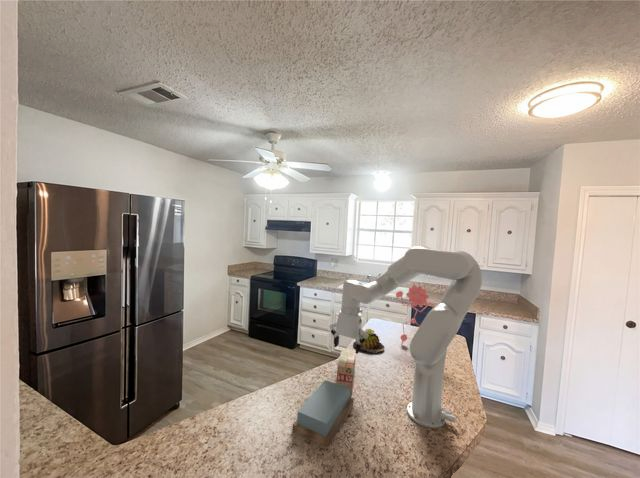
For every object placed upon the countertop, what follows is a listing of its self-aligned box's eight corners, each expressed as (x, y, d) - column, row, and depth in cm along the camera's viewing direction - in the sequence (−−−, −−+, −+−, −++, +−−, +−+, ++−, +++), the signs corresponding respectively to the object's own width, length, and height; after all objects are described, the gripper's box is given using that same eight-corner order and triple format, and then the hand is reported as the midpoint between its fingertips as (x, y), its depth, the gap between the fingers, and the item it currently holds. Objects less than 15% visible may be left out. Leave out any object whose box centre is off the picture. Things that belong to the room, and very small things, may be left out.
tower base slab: (352, 409, 97) (353, 398, 97) (326, 453, 77) (327, 440, 77) (323, 398, 102) (324, 388, 102) (292, 436, 83) (292, 424, 83)
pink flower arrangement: (431, 358, 138) (436, 291, 137) (387, 341, 157) (391, 282, 155) (442, 349, 149) (447, 288, 147) (400, 334, 167) (404, 279, 166)
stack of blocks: (341, 367, 124) (343, 341, 124) (355, 369, 123) (356, 343, 123) (335, 395, 103) (337, 364, 103) (351, 398, 102) (353, 367, 102)
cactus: (351, 350, 143) (352, 332, 142) (355, 338, 158) (356, 322, 158) (383, 356, 138) (385, 337, 138) (385, 343, 154) (386, 327, 153)
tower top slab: (349, 399, 96) (349, 388, 96) (325, 436, 78) (326, 423, 78) (324, 390, 101) (325, 379, 101) (297, 423, 83) (297, 411, 83)
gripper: (372, 311, 111) (369, 351, 112) (334, 303, 119) (331, 340, 120) (367, 316, 104) (363, 358, 105) (327, 307, 112) (324, 346, 113)
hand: (346, 349), depth 113 cm, fingers open, 9 cm apart
